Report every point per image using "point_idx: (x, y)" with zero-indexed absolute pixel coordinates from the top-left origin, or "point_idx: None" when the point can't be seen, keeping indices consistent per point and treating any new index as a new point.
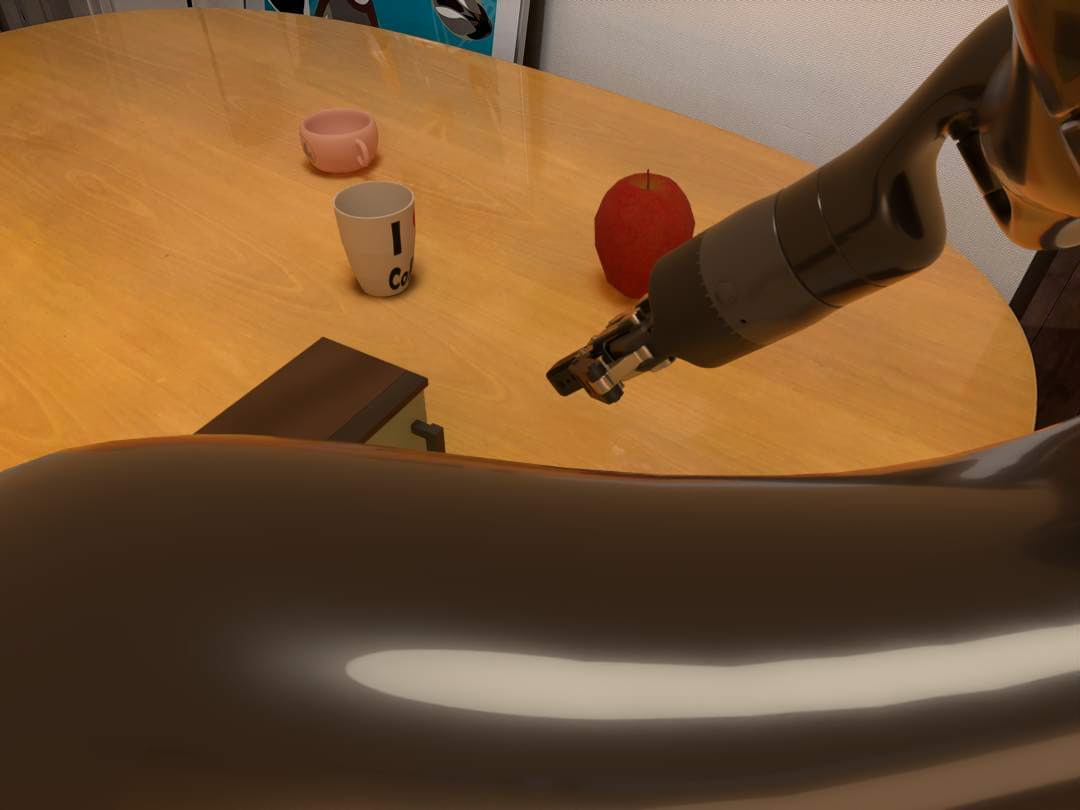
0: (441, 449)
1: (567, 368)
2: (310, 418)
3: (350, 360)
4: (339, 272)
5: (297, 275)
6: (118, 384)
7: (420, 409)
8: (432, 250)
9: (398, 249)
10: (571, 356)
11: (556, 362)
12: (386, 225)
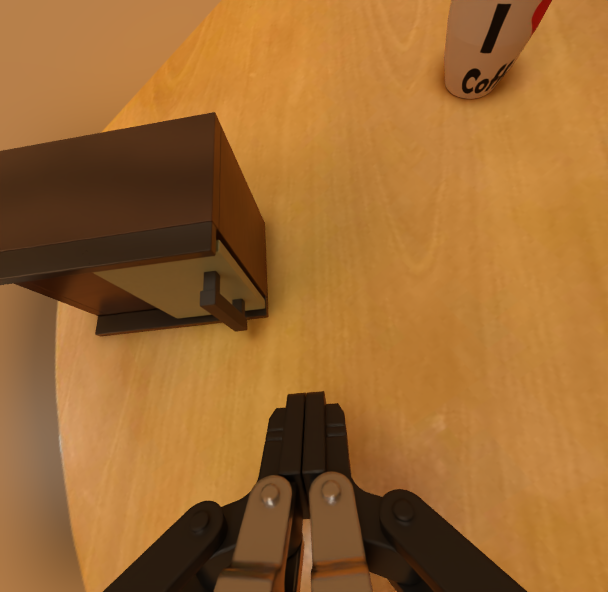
0: (218, 314)
1: (276, 449)
2: (88, 204)
3: (193, 162)
4: None
5: (418, 33)
6: (233, 62)
7: (219, 265)
8: (553, 68)
9: (489, 46)
10: (299, 442)
11: (319, 394)
12: (490, 4)
